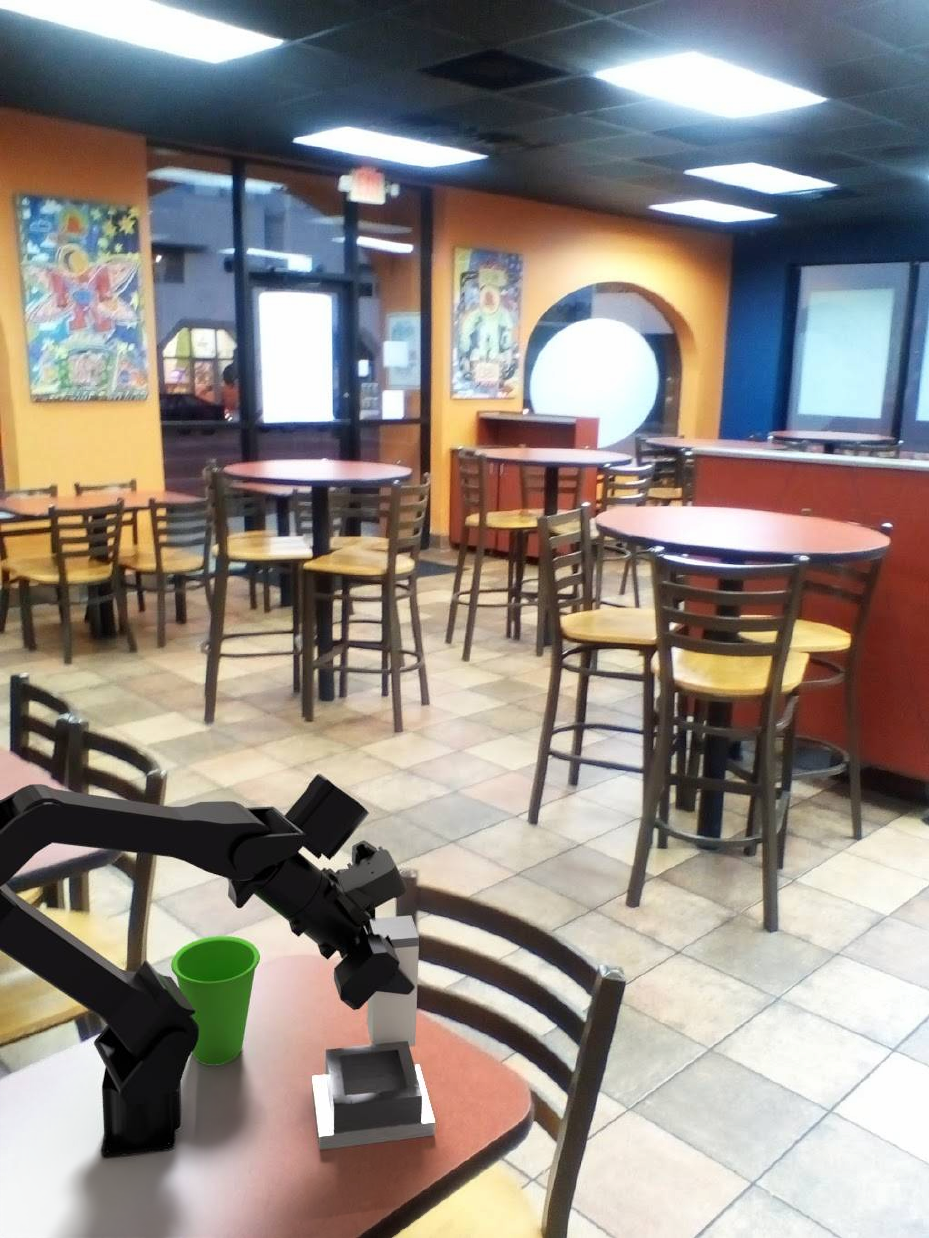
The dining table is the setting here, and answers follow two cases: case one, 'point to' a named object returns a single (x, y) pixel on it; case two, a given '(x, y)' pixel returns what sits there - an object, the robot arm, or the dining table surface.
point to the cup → (217, 992)
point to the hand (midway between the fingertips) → (405, 977)
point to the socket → (371, 1096)
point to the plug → (392, 1011)
